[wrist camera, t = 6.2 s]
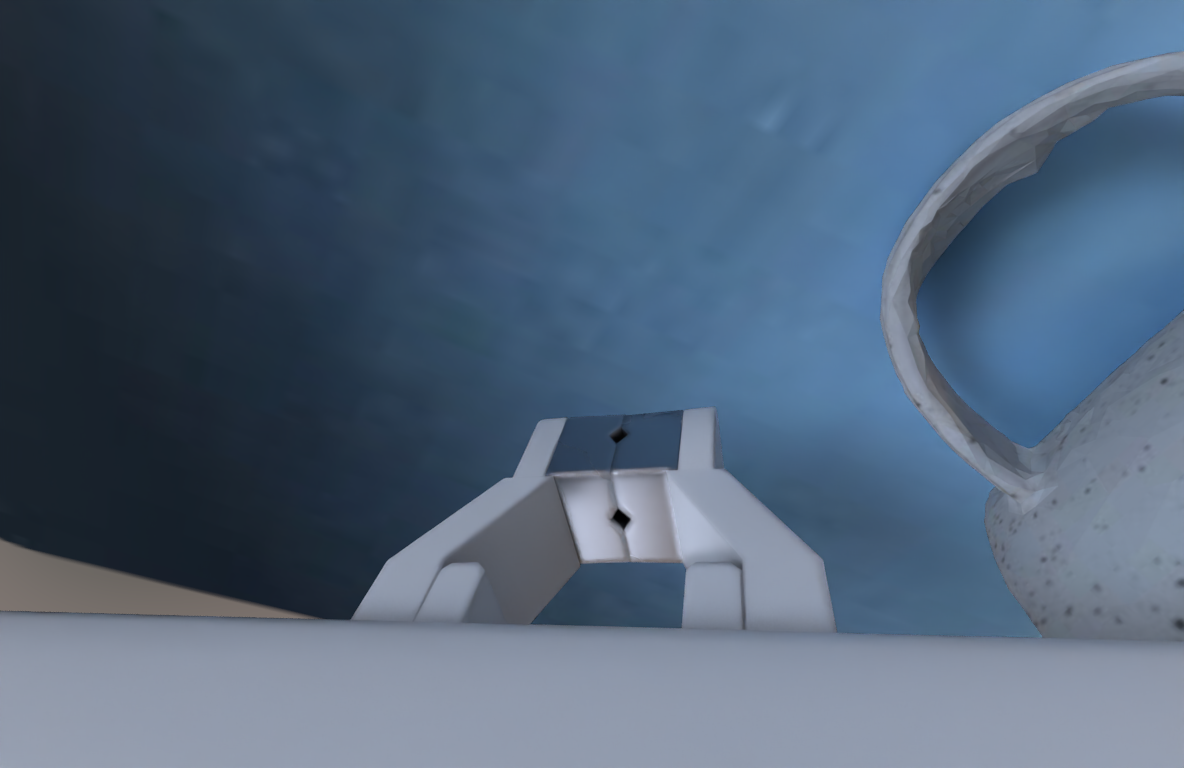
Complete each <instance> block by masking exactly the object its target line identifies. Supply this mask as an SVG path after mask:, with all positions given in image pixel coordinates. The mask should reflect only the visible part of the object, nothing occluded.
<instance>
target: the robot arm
mask: <svg viewBox="0 0 1184 768" xmlns="http://www.w3.org/2000/svg"><path fill="white" fill-rule="evenodd" d="M610 562H658V563H684V566H685V568H686V580H685V592H684V605H683V618H682V628H647V627H610V626H570V625H529V624H530V623H531V622H532V621H533V620H534V619H535V618H536V616H537V615H538V614H539V613H540V612H541V611H542V610H543V608H544V607H545V606H546V605H547V604H548V603H549V602H550V600H551V599H552V598H553V597H554V596H555V595H556V594H557V592H558V591H559V590H560V589H561V588H562V587H563V586H564V585H565V583H566V582H567V581H568V580H569V579H570V578H571V577H572V575H573V574H574V573H575V572H576V571H577V570H578V569H579V567H580V563H610ZM0 768H1184V641H1148V640H1110V639H1071V638H1033V637H994V636H951V635H906V634H863V633H837V629H836V624H835V619H834V614H833V609H832V603H831V598H830V593H829V588H828V583H827V578H826V573H825V568H824V563H823V559H822V558H821V557H820V556H819V555H818V554H817V553H815V552H814V551H813V550H812V549H811V548H810V547H809V546H808V545H807V544H806V543H805V542H804V541H803V540H801V539H800V538H799V537H798V536H797V535H796V534H795V533H794V532H793V531H792V530H791V529H790V528H789V527H787V526H786V525H785V524H784V523H783V522H782V521H781V520H780V519H779V518H778V517H777V516H776V515H775V514H773V513H772V512H771V511H770V510H769V509H768V508H767V507H766V506H765V505H764V504H763V503H762V502H761V501H759V500H758V499H757V498H756V497H755V496H754V495H753V494H752V493H751V492H750V491H749V490H748V489H747V488H745V487H744V486H743V485H742V484H741V483H740V482H739V481H738V480H737V479H736V478H735V477H734V476H733V475H731V474H730V473H729V472H728V471H727V470H726V469H724V464H723V455H722V447H721V438H720V430H719V421H718V414H717V410H716V408H715V407H705V408H695V409H686V410H684V411H683V410H678V411H668V412H657V413H647V414H636V415H607V416H587V417H571V418H568V417H565V418H553V419H543V420H541V421H539V422H538V423H537V426H536V428H535V430H534V432H533V434H532V436H531V439H530V441H529V443H528V445H527V447H526V449H525V452H524V454H523V456H522V458H521V460H520V463H519V465H518V467H517V469H516V471H515V473H514V476H513V478H504V479H502V480H501V481H500V482H498V483H497V484H495V485H494V486H493V487H491V488H490V489H488V490H487V491H485V492H484V493H483V494H481V495H480V496H478V497H477V498H475V499H474V500H473V501H471V502H470V503H468V504H467V505H466V506H464V507H463V508H461V509H460V510H458V511H457V512H456V513H454V514H453V515H451V516H450V517H448V518H447V519H446V520H444V521H443V522H441V523H440V524H439V525H437V526H436V527H434V528H433V529H431V530H430V531H429V532H427V533H426V534H424V535H423V536H421V537H420V538H419V539H417V540H416V541H414V542H413V543H412V544H410V545H409V546H407V547H406V548H404V549H403V550H402V551H400V552H399V553H397V554H396V555H394V556H393V557H392V558H390V559H389V560H387V562H386V564H385V565H384V567H383V568H382V570H381V572H380V573H379V575H378V576H377V578H376V580H375V581H374V583H373V584H372V586H371V588H370V589H369V591H368V593H367V594H366V596H365V597H364V599H363V601H362V602H361V604H360V605H359V607H358V609H357V610H356V612H355V613H354V615H353V617H352V618H351V620H332V619H293V618H255V617H216V616H176V615H139V614H136V615H135V614H104V613H67V612H29V611H0Z"/></svg>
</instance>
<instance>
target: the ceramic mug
mask: <svg viewBox="0 0 1184 768" xmlns="http://www.w3.org/2000/svg"><path fill="white" fill-rule="evenodd" d="M1161 96H1184V51H1183V52H1174V53H1166V54H1162V55H1157V56H1153V57H1149V58H1144V59H1140V60H1135V61H1131V62H1127V63H1122V64H1118V65H1113V66H1110V67H1107V68H1105V69H1102V70H1099V71H1097V72H1094V73H1092V74H1089V75H1087V76H1084V77H1081V78H1079V79H1076V80H1074V81H1071V82H1069V83H1066V84H1064V85H1063V86H1061V87H1059V88H1057V89H1055V90H1053V91H1051V92H1049V93H1047V94H1045V95H1043V96H1041V97H1039V98H1038V99H1036V100H1034V101H1032V102H1030V103H1029V104H1027V105H1026V106H1024V107H1022V108H1021V109H1019V110H1017V111H1016V112H1014V113H1012V114H1011V115H1009V116H1007V117H1006V118H1004V119H1003V120H1001V121H999V122H998V123H997V124H995V125H994V126H993V127H992V128H991V129H989V130H988V131H987V132H986V133H984V134H983V135H982V136H981V137H980V138H978V139H977V140H976V141H975V142H974V143H973V144H972V145H971V146H970V147H969V148H968V149H967V150H966V151H965V152H964V153H963V154H962V155H961V156H960V157H959V158H958V159H957V160H956V161H955V162H954V163H953V164H952V165H951V166H950V167H949V168H948V169H947V171H946V172H945V173H944V174H943V175H942V176H941V177H940V178H939V179H938V180H937V181H936V182H935V183H934V185H933V186H932V187H931V189H930V190H929V192H928V193H927V194H926V196H925V197H924V198H923V200H922V201H921V202H920V204H919V205H918V207H917V208H916V209H915V211H914V212H913V213H912V215H911V216H910V217H909V219H908V220H907V222H906V223H905V225H904V227H903V229H902V231H901V233H900V235H899V237H898V239H897V241H896V243H895V245H894V247H893V249H892V251H891V253H890V255H889V257H888V259H887V263H886V268H885V271H884V273H883V278H882V298H881V312H880V321H881V326H882V330H883V335H884V339H885V342H886V346H887V350H888V353H889V356H890V358H891V361H892V364H893V366H894V369H895V372H896V374H897V377H898V378H899V380H900V382H901V383H902V385H903V388H904V392H905V394H906V395H907V396H908V398H909V399H910V400H911V402H912V403H913V404H914V406H915V407H916V408H917V409H918V411H919V412H920V413H921V414H922V415H923V417H924V418H925V419H926V420H927V421H928V423H929V424H930V425H931V426H932V427H933V429H934V430H935V431H936V432H937V433H938V435H939V436H940V437H941V438H942V439H943V440H944V441H945V442H946V443H947V444H948V445H949V447H950V448H951V449H952V450H953V451H954V452H955V453H957V454H958V455H959V456H960V457H961V458H962V459H963V460H964V461H965V462H967V463H968V464H969V465H970V466H971V467H972V468H974V469H975V470H976V471H978V472H979V473H980V474H981V475H983V476H984V477H985V478H986V479H987V480H988V481H990V482H991V483H992V484H993V485H994V486H995V487H994V488H993V489H992V490H991V492H990V493H989V498H988V500H987V502H986V505H985V518H984V523H985V527H986V532H987V536H988V539H989V542H990V545H991V548H992V551H993V555H994V558H995V560H996V563H997V565H998V567H999V569H1000V571H1001V574H1002V576H1003V578H1004V580H1005V583H1006V585H1007V587H1008V589H1009V590H1010V592H1011V593H1012V594H1013V596H1014V597H1015V598H1016V600H1017V601H1018V602H1019V604H1020V605H1021V606H1022V608H1023V609H1024V611H1025V612H1026V614H1027V615H1028V617H1029V618H1030V620H1031V621H1032V623H1033V624H1034V625H1035V627H1036V628H1037V629H1038V631H1039V632H1040V634H1041V635H1042V637H1043V638H1071V639H1110V640H1148V641H1184V310H1183V311H1182V312H1181V313H1180V314H1179V315H1178V316H1176V317H1175V318H1174V319H1173V320H1172V321H1171V322H1170V323H1169V324H1168V325H1166V326H1165V327H1164V328H1163V329H1162V330H1161V331H1160V332H1158V333H1157V334H1156V335H1154V336H1153V337H1152V338H1151V339H1149V340H1148V341H1147V342H1146V343H1145V344H1144V345H1143V346H1142V347H1141V348H1140V349H1139V350H1138V351H1137V352H1136V353H1135V354H1133V355H1132V356H1131V357H1130V358H1128V359H1127V361H1126V362H1124V363H1123V364H1122V365H1120V366H1119V367H1118V368H1117V369H1116V370H1115V371H1114V372H1112V373H1111V374H1110V375H1109V376H1108V377H1107V378H1106V379H1105V380H1104V381H1103V382H1102V383H1101V384H1100V385H1099V386H1098V387H1097V388H1096V389H1095V390H1094V391H1093V392H1092V393H1091V394H1089V395H1088V396H1087V397H1086V398H1085V399H1084V400H1083V401H1082V402H1081V403H1080V404H1079V405H1078V406H1077V407H1076V408H1075V409H1074V410H1072V411H1071V412H1070V413H1068V414H1067V415H1066V417H1065V418H1064V420H1062V421H1061V422H1060V423H1059V424H1058V425H1057V426H1056V427H1055V428H1054V429H1053V430H1052V431H1051V432H1050V433H1049V434H1048V435H1047V436H1046V437H1045V438H1044V439H1043V440H1042V441H1040V442H1039V444H1038V445H1036V446H1035V447H1032V448H1025V447H1023V446H1021V445H1019V444H1017V443H1014V442H1012V441H1010V440H1009V439H1008V438H1007V437H1006V436H1005V435H1004V434H1002V433H1001V432H1000V431H998V430H997V429H995V428H994V427H993V426H991V425H990V424H989V423H988V422H986V421H985V420H984V419H983V418H982V417H981V416H979V415H978V414H977V413H976V412H975V411H974V410H972V409H971V408H970V407H969V406H968V405H967V404H966V403H965V402H964V401H963V400H962V399H961V398H960V397H959V396H958V395H957V394H956V392H955V391H954V390H953V389H952V387H951V386H950V385H949V383H948V382H947V381H946V379H945V378H944V377H943V376H942V374H941V373H940V372H939V370H938V369H937V368H936V366H935V365H934V364H933V362H932V360H931V358H930V357H929V355H928V353H927V350H926V348H925V345H924V343H923V341H922V339H921V337H920V335H919V328H920V325H919V322H918V319H917V307H916V298H917V295H918V292H919V289H920V287H921V285H922V283H923V281H924V279H925V277H926V275H927V273H928V272H929V271H930V269H931V268H932V267H933V265H934V264H935V263H936V261H937V260H938V259H939V257H940V256H941V255H942V254H943V252H944V251H945V250H946V249H947V247H948V246H949V245H950V243H951V242H952V241H953V240H954V239H955V237H956V236H957V235H958V234H959V233H960V232H961V231H962V230H963V229H964V227H965V226H966V225H967V224H968V223H969V222H970V221H971V219H972V218H973V217H974V216H975V215H976V214H977V213H978V211H979V210H980V209H981V208H982V207H983V206H984V205H985V204H986V203H987V202H988V201H989V200H991V199H992V198H993V197H994V196H995V195H996V194H997V193H998V192H1000V191H1001V190H1002V189H1003V188H1004V187H1005V186H1006V185H1007V184H1010V183H1012V182H1015V181H1017V180H1020V179H1022V178H1025V177H1028V176H1030V175H1033V174H1035V173H1037V172H1038V171H1039V169H1040V168H1041V166H1042V165H1043V163H1044V162H1045V160H1046V159H1047V157H1048V156H1049V154H1050V152H1051V151H1052V149H1053V147H1054V146H1055V144H1056V142H1057V141H1059V140H1061V139H1063V138H1065V137H1067V136H1068V135H1070V134H1072V133H1073V132H1075V131H1076V130H1078V129H1080V128H1081V127H1083V126H1085V125H1087V124H1089V123H1090V122H1092V121H1094V120H1095V119H1096V118H1097V117H1099V116H1100V115H1101V114H1102V113H1103V112H1104V111H1105V110H1106V109H1108V108H1110V107H1115V106H1120V105H1124V104H1129V103H1133V102H1137V101H1142V100H1146V99H1151V98H1156V97H1161Z"/></svg>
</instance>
